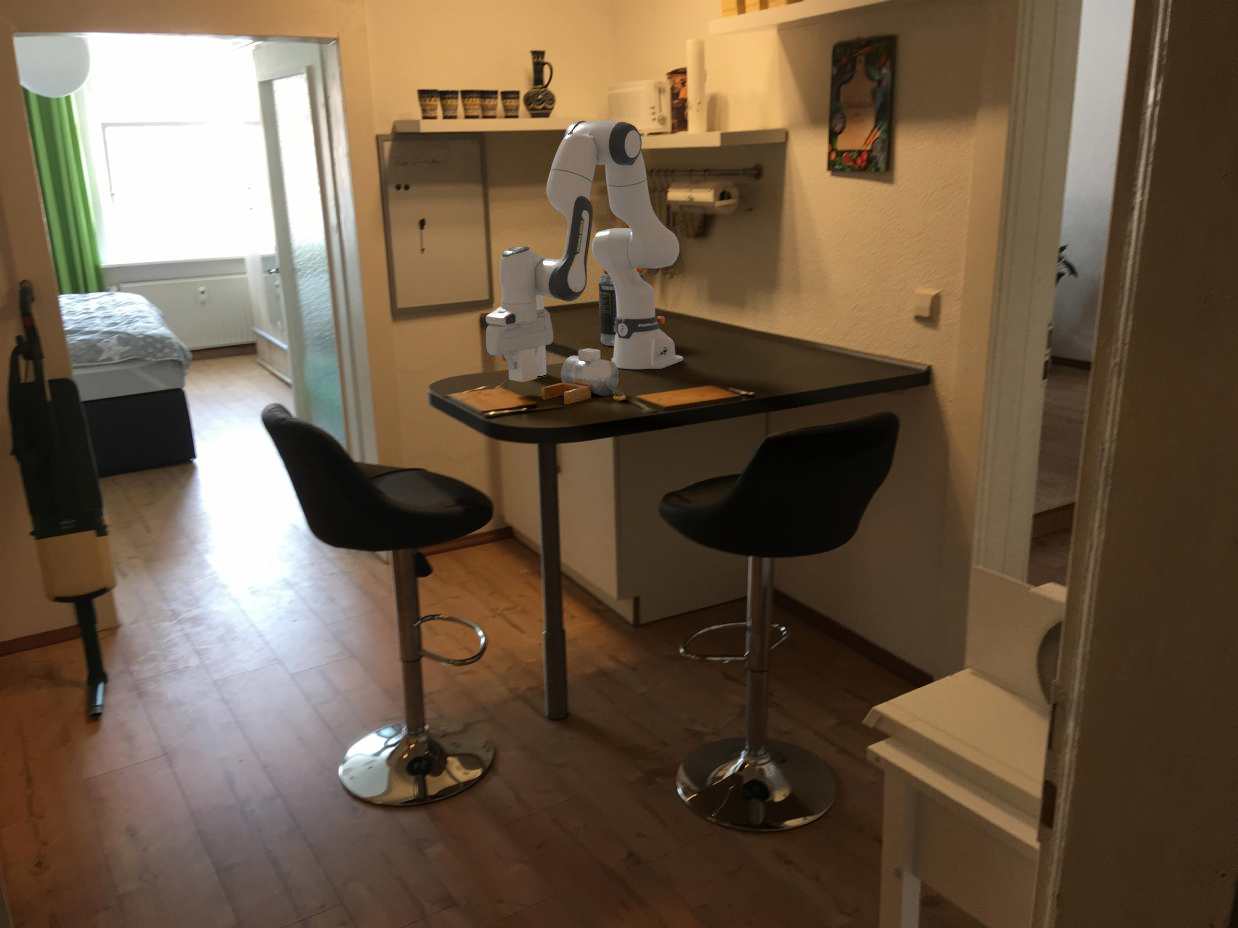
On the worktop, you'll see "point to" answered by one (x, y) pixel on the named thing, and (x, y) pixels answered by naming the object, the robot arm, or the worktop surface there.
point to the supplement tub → (609, 307)
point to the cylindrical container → (542, 352)
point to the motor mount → (584, 377)
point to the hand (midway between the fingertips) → (522, 367)
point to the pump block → (524, 365)
